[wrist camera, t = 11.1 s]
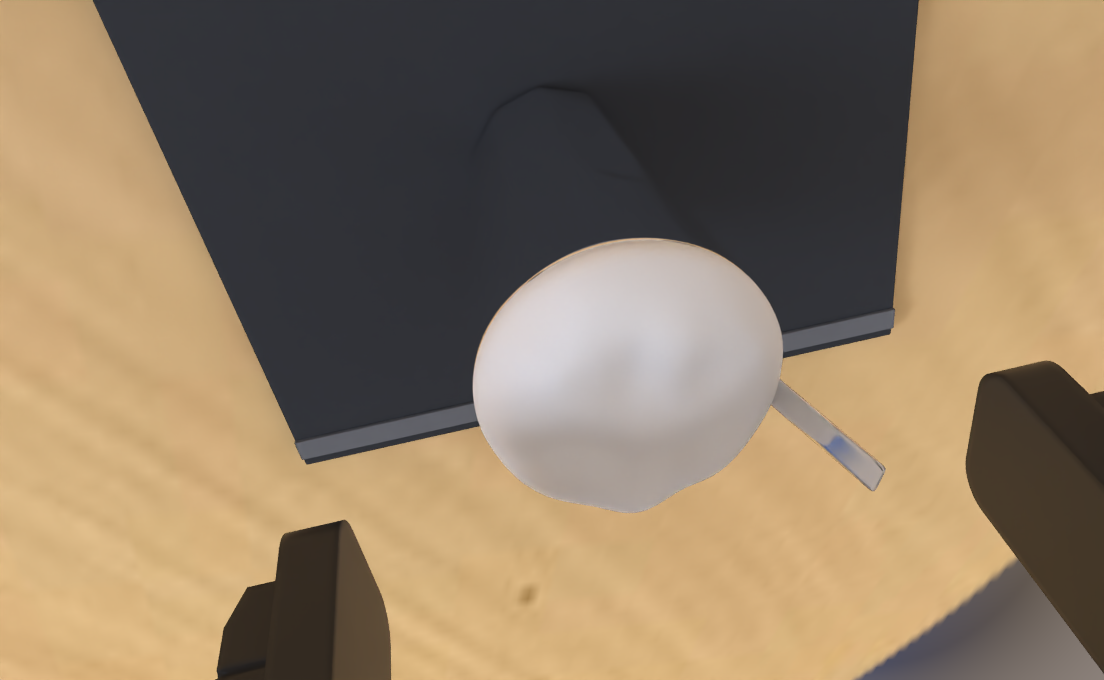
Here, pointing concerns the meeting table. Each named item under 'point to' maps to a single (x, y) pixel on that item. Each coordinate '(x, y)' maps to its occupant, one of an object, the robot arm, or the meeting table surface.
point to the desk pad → (448, 167)
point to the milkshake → (614, 320)
